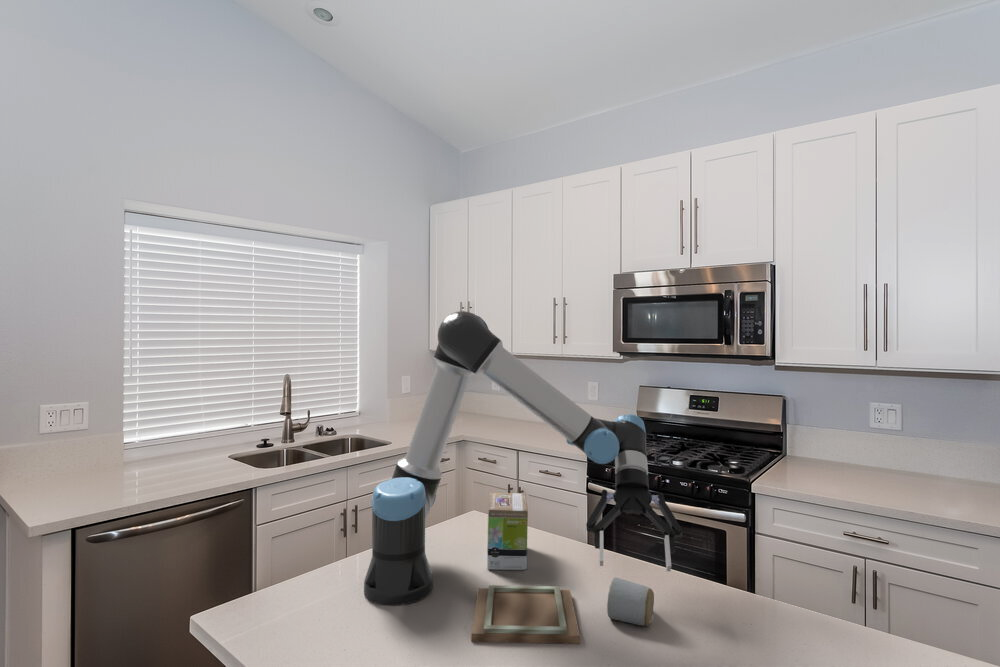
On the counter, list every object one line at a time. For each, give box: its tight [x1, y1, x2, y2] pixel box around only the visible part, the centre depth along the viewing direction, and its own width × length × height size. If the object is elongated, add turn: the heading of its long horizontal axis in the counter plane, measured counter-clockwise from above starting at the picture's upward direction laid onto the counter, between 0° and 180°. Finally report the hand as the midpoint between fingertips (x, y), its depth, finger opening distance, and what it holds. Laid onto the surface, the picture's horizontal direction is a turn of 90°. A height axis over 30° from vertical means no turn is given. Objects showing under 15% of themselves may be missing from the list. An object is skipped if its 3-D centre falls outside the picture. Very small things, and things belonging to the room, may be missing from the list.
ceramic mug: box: [606, 576, 655, 627], centre depth 109 cm, size 11×8×8 cm
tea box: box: [486, 492, 529, 571], centre depth 138 cm, size 15×10×15 cm
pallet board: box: [470, 584, 581, 645], centre depth 109 cm, size 20×18×2 cm
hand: (634, 566), depth 112 cm, fingers open, 13 cm apart
